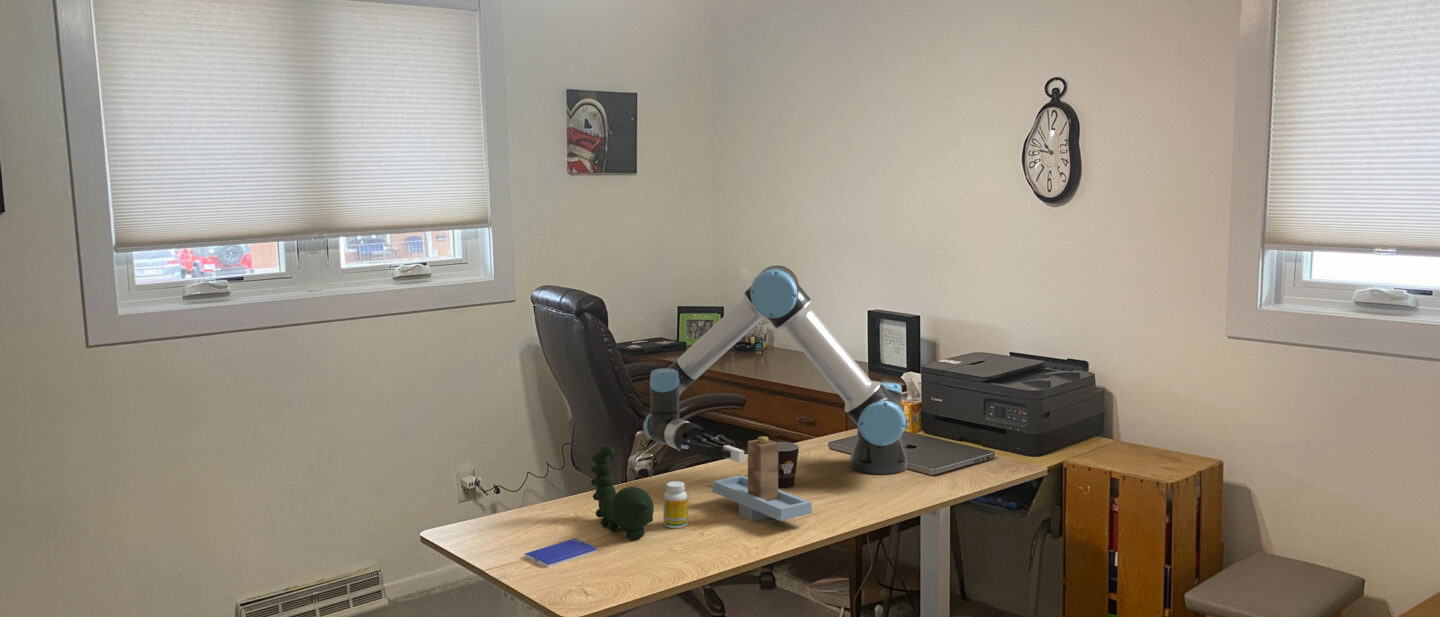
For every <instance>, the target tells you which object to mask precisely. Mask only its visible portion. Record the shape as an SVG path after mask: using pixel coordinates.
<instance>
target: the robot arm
mask: <svg viewBox="0 0 1440 617" xmlns="http://www.w3.org/2000/svg"><path fill="white" fill-rule="evenodd" d="M812 302H813V301H812V299H811V297H810V296H809V295H808V294H807V292H806V291H805V290H804V289H803V288H802V287H801V285H800V283H799V280H798V277H797V276H796V274H795V273H794V272H793V271H792V270H791V269H789V268H787V267H785V266H783V265H771V266H768V267H766V268H765V269H762V271H761V272H760V273H759V274H758V275H757V276H756V277H755V278H754V279H753V281H752V283H751V285H750V287H748V289H746V290H745V291H744V292H743V298H742V299H741V300H740V301H739V302H738V303H737V304H736V305H734V306H733V307H732V308H731V309H730V310H729V311H728V312H727V313H726V314H725V315H723V317H721V318H720V320H719V321H717V322H716V323H715V324H713V326H712V327H711V328H709V329H708V331H706V332H705V333H704V334H703V335H702V336H701V337H700V338H699V339H698V340H696V341H695V342H694V343H693V344H692V345H691V346H690V347H689V348H688V349H687V350H686V351H685V352H683V353H682V354H681V355H680V356H679V357H678V358H677V359H676V360H675V361H673V363H672V364H670V365H669V366H668V367H667V368H656V369H654V370H652V371H651V373H650V379H649V380H650V381H649V387H650V388H649V390H650V391H649V394H650V395H649V396H650V399H649V400H650V412H649V414H648V415H647V416H645V419H644V422H643V424H642V425H643V426H642V427H643V428H642V429H643V431H644V434H645V435H646V437H648V438H649V439H651V440H653V441H654V442H656V443H659V444H663V445H666V446H669V447H671V448H673V449H676V450H677V451H678V452H683V453H686V454H689V455H700V456H703V457H708V458H714V457H715V456H716V457H717V460H718V461H719V460H722V459H723V458H725V459H727V460H731V461H733V462H736V463H739V464H741V463H745V450H743V449H740V448H738V447H736V443H735V442H734V441H733V440H731V439H730V438H727V437H726V436H725V434H724V433H720V434H718V435H716V436H713V434H709V433H707V432H705V430H704V428H703V427H702V426H701V425H698V424H695V423H693V422H690V421H687V420H684V419H680V396H681V395H682V394H683V392H684V391H685V390H687V388H688V387H690V386H691V385H692V384H693V383H694V382H695V381H696V380H697V379H698V378H699V377H700V376H702V375H703V374H704V373H705V372H706V371H707V370H708V369H709V368H710V367H711V366H713V364H715V363H716V362H717V361H718V360H719V359H720V358H721V357H722V356H723V355H725V353H727V352H729V350H730V349H731V348H732V347H734V346H735V345H736V344H737V343H738V342H739V341H740V340H741V339H742V338H743V337H745V335H747V334H748V333H749V332H750V331H751V330H752V329H754V328H755V326H757V325H758V324H759V323H760V322H761V321H762V320H768V321H769V322H770V323H771V325H773V327H774V328H775V329H776V330H779V331H781V330H782V331H785V332H786V333H787V334H788V335H789V337H790V338H791V339H792V340H793V342H794V343H795V344H796V345H797V346H798V347H799V350H801V352H802V353H804V354H805V356H806V358H808V359H809V360H810V362H811V363H812V364H813V366H815V368H816V369H817V370H818V372H819V373H820V374H821V375H822V376H823V377H824V379H825V380H826V381H827V382H828V383H829V385H830V386H831V387H832V388H833V390H834V391H835V392H837V395H839V397H840V398H841V399H842V400H843V401H844V411H845V413H846V414H847V416H849V418H850V419H851V420H852V422H854V424H855V425H856V426H857V438H856V441H855V444H854V445H853V446H854V447H853V450H852V453H851V456H850V462H849V463H850V465H849V466H850V467H851V468H852V469H854V470H855V471H858V472H862V473H866V474H872V475H873V474H875V475H890V474H892V475H893V474H898V473H902V472H904V471H906V470H907V469H908V458H907V456H906V452H905V449H904V445H903V441H902V435H903V434H904V431H905V429H906V424H907V418H906V415H905V412H904V408H903V402H902V401H903V399H902V398H903V395H904V394H903V391H902V390H903V389H902V386H901V384H900V383H894V382H883V381H882V382H881V381H876V380H871V378H870V377H868V375H867V374H866V372H865V371H864V370H863V369H862V368H861V366H859V364H858V363H857V362H856V360H854V358H853V357H852V356H851V355H850V354H849V352H848V351H847V350H846V348H844V346H843V345H842V344H841V342H840V341H839V340H838V339H837V338H836V337H835V336H834V334H833V333H832V332H831V331H830V329H828V327H827V325H825V324H824V322H823V321H822V320H821V319H820V318H819V316H818V315H817V314H816V313H815V311H813V309H812ZM906 466H907V467H906Z"/></svg>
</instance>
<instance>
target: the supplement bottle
mask: <svg viewBox="0 0 1440 617" xmlns="http://www.w3.org/2000/svg"><path fill="white" fill-rule="evenodd" d="M685 489H686V488H685V482H682V481H669V482H667V483H666V492H665V493H664V494H663V525H664V526H665V527H667V528H668V529H669V528H670V529H675V530H676V529H681V528H685V527H686V526H687V525H688V494H687V492H686V491H685Z"/></svg>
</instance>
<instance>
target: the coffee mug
mask: <svg viewBox="0 0 1440 617" xmlns="http://www.w3.org/2000/svg"><path fill="white" fill-rule="evenodd" d="M777 442H778V489H789V488H793V487H794V486H795V482H796V480H795V479H796V475H797V474H796V473H797V465H798V457H799V448H800V446H799V445H798V444H796V443H794V442H793V443H792V442H786V441H785V442H784V441H777Z"/></svg>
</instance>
